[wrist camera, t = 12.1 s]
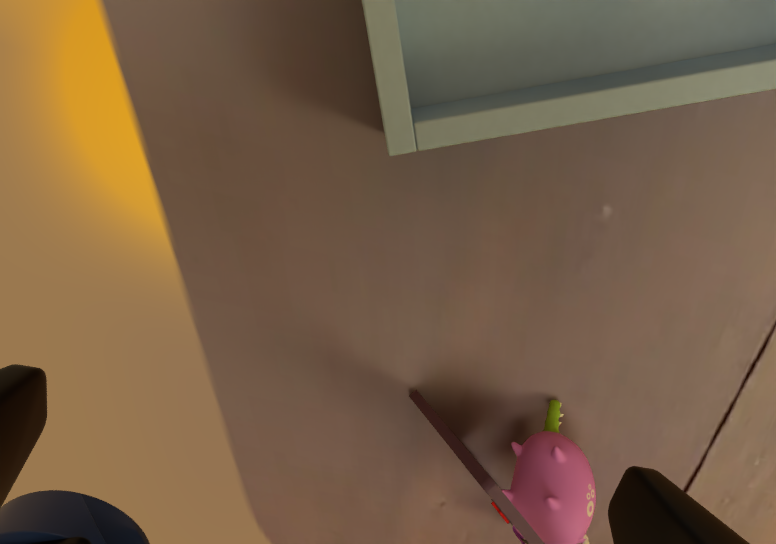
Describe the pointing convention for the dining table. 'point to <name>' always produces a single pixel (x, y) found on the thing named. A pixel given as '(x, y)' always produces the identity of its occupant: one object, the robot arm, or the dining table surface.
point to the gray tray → (556, 62)
